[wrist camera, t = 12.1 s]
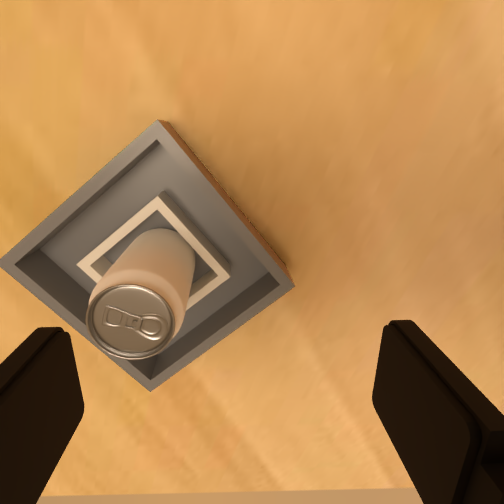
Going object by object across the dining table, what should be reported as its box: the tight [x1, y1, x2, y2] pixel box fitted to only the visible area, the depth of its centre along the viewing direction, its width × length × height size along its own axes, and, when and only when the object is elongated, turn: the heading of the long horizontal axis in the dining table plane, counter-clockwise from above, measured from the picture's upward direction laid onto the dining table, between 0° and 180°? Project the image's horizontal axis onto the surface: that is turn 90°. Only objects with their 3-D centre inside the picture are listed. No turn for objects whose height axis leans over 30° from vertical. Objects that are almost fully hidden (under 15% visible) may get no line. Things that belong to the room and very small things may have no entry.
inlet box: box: [0, 119, 295, 392], centre depth 31 cm, size 18×18×5 cm
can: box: [86, 228, 195, 360], centre depth 27 cm, size 6×6×12 cm
